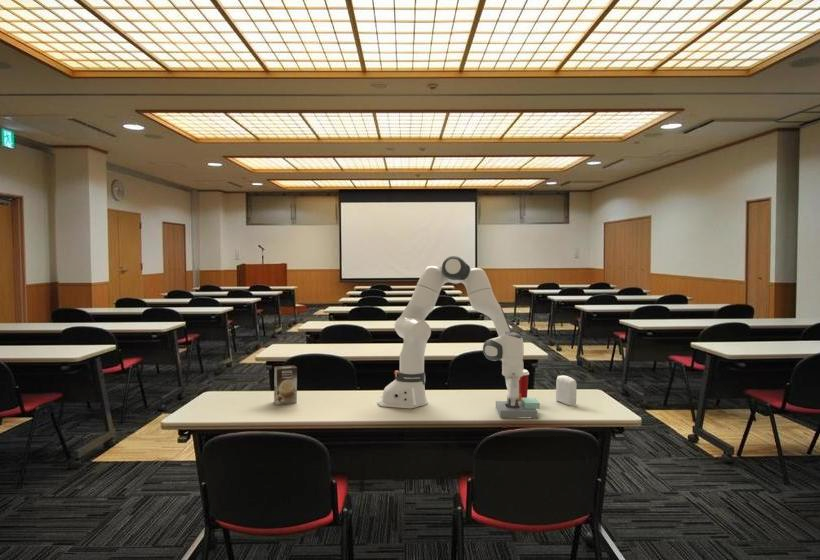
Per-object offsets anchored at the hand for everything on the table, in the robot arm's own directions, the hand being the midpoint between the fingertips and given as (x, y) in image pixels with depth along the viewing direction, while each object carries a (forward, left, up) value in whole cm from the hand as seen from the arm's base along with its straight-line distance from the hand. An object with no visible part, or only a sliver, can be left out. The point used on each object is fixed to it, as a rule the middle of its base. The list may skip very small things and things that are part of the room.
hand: (512, 403), depth 211 cm
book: (+27, +16, -4) cm, 32 cm away
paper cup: (+7, +19, -4) cm, 21 cm away
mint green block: (+7, 0, -1) cm, 8 cm away
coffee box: (-100, +11, -4) cm, 101 cm away
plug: (0, 0, -3) cm, 3 cm away
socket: (+2, 0, -4) cm, 4 cm away
